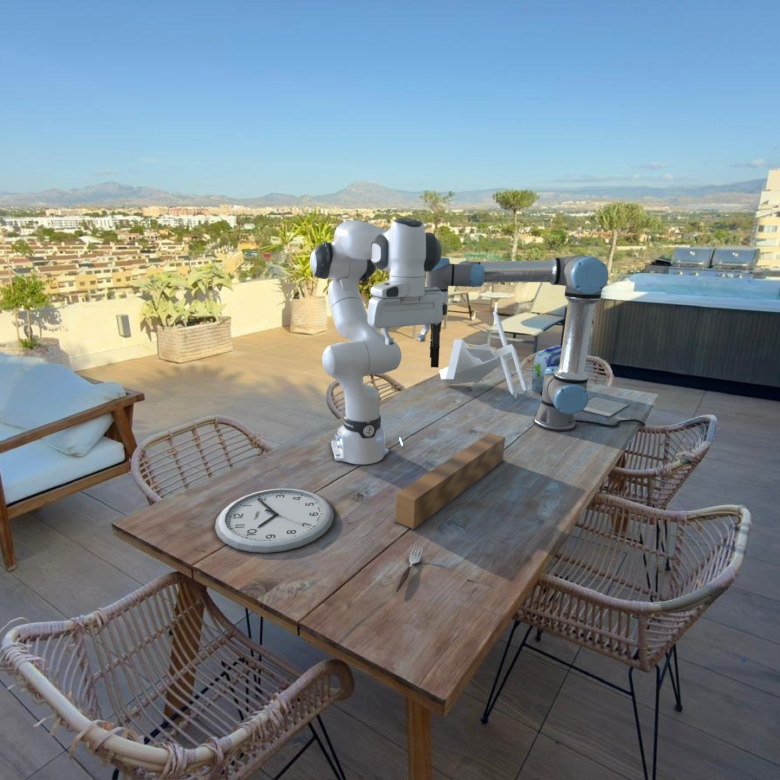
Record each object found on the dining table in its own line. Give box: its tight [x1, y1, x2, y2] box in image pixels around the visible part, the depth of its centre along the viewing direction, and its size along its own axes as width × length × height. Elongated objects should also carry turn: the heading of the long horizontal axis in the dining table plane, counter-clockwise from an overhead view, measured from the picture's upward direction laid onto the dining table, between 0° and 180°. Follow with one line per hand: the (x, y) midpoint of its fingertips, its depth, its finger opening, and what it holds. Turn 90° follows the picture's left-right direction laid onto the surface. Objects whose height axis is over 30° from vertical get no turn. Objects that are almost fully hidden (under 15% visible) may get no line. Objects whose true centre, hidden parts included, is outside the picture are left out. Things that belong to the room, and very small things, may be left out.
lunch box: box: [531, 345, 562, 393], centre depth 245 cm, size 26×11×21 cm, turn 134°
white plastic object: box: [438, 310, 531, 400], centre depth 245 cm, size 37×45×31 cm
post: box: [395, 433, 506, 530], centre depth 153 cm, size 52×6×8 cm, turn 143°
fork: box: [395, 543, 425, 593], centre depth 115 cm, size 3×16×2 cm, turn 160°
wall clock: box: [214, 488, 335, 554], centre depth 135 cm, size 30×2×30 cm
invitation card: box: [582, 396, 629, 418], centre depth 226 cm, size 21×1×15 cm
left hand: (405, 343), depth 133 cm, fingers open, 8 cm apart
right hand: (433, 362), depth 188 cm, fingers open, 13 cm apart
